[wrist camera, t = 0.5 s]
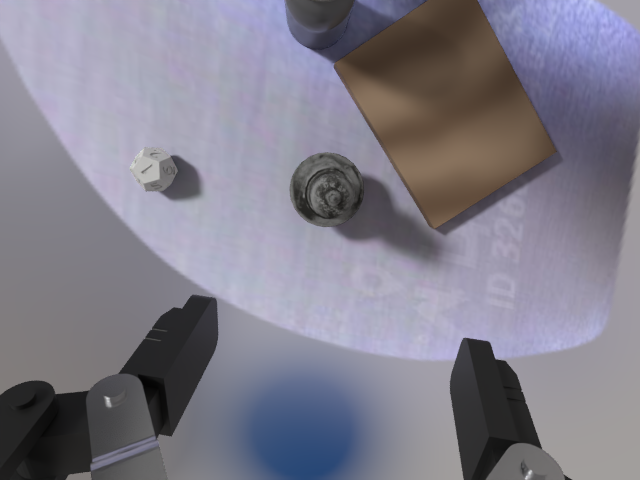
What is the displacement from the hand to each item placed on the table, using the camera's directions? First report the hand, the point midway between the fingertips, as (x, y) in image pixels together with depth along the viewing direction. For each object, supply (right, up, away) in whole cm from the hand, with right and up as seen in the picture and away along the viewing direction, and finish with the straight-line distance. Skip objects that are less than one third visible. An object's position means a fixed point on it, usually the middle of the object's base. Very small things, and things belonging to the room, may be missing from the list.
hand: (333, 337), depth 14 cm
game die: (-14, +9, +23) cm, 29 cm away
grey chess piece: (0, +8, +24) cm, 25 cm away
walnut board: (+10, +14, +23) cm, 29 cm away
